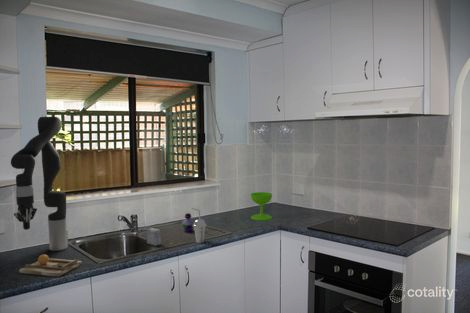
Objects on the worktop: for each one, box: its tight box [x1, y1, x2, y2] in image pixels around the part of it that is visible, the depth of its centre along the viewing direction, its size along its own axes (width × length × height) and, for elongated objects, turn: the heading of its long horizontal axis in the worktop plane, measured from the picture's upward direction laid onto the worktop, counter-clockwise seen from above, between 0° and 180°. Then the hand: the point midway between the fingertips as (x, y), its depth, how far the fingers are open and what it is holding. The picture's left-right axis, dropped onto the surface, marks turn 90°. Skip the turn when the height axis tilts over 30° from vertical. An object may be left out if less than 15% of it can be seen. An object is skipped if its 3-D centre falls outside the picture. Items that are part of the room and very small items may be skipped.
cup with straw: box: [191, 207, 208, 244], centre depth 233 cm, size 8×9×20 cm
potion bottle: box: [181, 212, 195, 233], centre depth 256 cm, size 9×9×12 cm
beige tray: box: [19, 257, 83, 277], centre depth 192 cm, size 17×22×4 cm
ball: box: [37, 254, 50, 265], centre depth 193 cm, size 5×5×5 cm
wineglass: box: [250, 191, 273, 221], centre depth 293 cm, size 16×16×18 cm
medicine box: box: [146, 227, 162, 246], centre depth 230 cm, size 8×4×9 cm, turn 48°
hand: (26, 229), depth 194 cm, fingers closed
